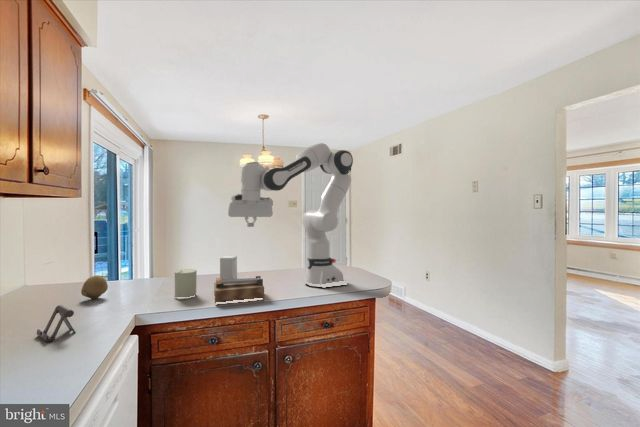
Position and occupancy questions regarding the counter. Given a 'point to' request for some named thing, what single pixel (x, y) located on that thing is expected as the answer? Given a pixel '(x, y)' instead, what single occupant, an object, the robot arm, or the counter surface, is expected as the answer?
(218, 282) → the strap
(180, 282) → the can
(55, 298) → the counter surface
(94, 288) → the natural sponge
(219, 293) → the latch base
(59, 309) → the portable electronic device stand
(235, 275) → the skincare box
